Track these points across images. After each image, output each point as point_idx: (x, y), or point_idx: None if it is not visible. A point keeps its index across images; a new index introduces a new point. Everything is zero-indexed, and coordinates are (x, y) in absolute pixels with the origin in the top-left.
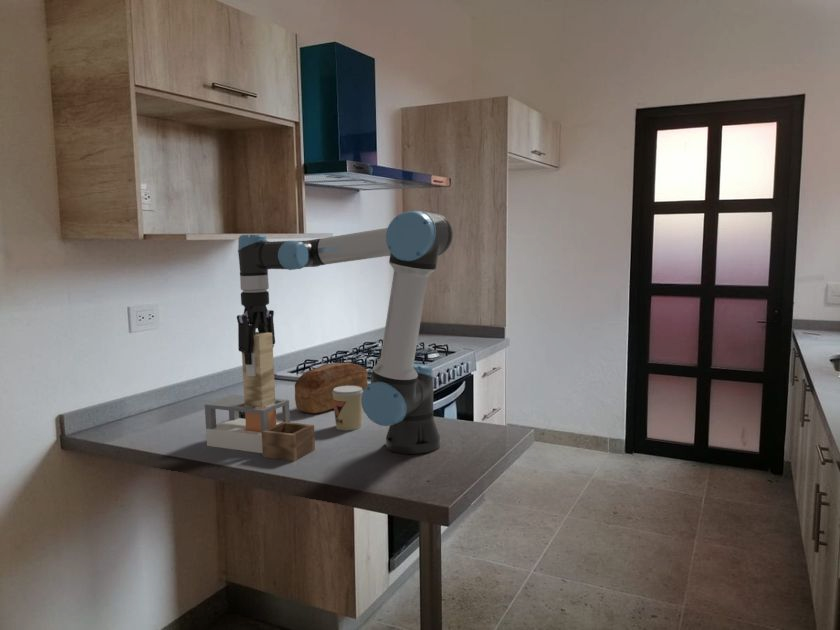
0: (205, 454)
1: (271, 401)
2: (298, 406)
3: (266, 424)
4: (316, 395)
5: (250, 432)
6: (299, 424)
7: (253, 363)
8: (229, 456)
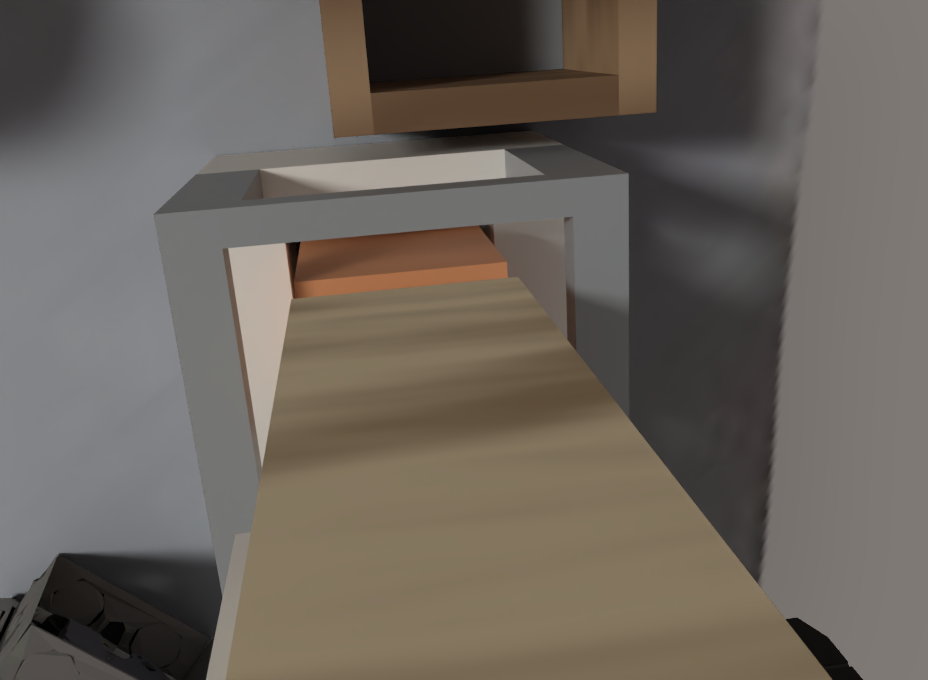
0: (677, 465)
1: (361, 299)
2: None
3: (551, 157)
4: None
5: None
6: None
7: None
8: (658, 312)
